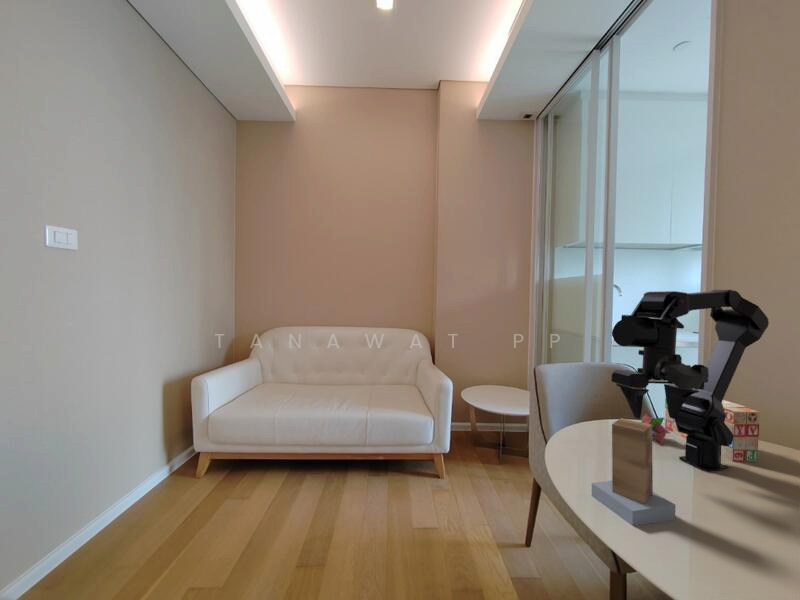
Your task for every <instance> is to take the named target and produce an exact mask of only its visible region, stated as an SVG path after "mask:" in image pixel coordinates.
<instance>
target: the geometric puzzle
mask: <svg viewBox="0 0 800 600" xmlns="http://www.w3.org/2000/svg"><path fill="white" fill-rule="evenodd" d="M652 416H655V415H651V414H647V413H645V414H644V415H643V416H642V418H641V419H640V422H641V423H646V424H650V425H652V437H655V438H654V439H655V440H656V441H657V442H659V444H663V442H664V441H665V439H667V437H666V435H670V434H671V431H670V430H668V429H666V428H667V427H666V428H665V427H664V426H663V425H662V424H663V422H664V421H665V419H666V418H665V417H656V418H654V417H652ZM664 423H665V422H664ZM665 424H667V423H665ZM665 424H664V425H665Z"/></svg>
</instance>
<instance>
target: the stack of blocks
mask: <svg viewBox="0 0 800 600" xmlns="http://www.w3.org/2000/svg"><path fill="white" fill-rule="evenodd" d="M664 401H665V402H664V408H665V411H664V412H665V416H664V418H665V419H664V423H667V424H664V425H665V427H664V428H665V429H666V430H668V431H669V432H672V433H674V434H676V435H678V436H680V437H683V438H684V439H686V436H688V435H687V434H684V433H682V432H678V430H677V426H676V422H675V419H672V418H670V417H669V413H668V408H667V401H666V397H665V400H664ZM722 405H723V408H724V411H725V414H726V418H725V421H724V423H725V424H726V426H727V427H728V428H729V429H730V431H731V432H732V433H733V434H734V437H733V441H732V444H729V446H722V445H721V457H723V458H725V459H727V460H729V461H731V462H738V463H740V462H741V463H742V462H747V463H748V462H750V463H751V462H752V463H753V462H755V463H757V462H759V461H758V459H759V437H760V416H761V415H760V414H761V413H760V411H758V410H755V409H752V408H749V407H747V406H745V405H742V404H738V403H735V402H730V401H728V400H725V399H723V400H722ZM666 427H667V428H666Z"/></svg>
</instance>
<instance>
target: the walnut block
mask: <svg viewBox="0 0 800 600" xmlns="http://www.w3.org/2000/svg"><path fill="white" fill-rule="evenodd" d="M611 441H612V443H611V450H612V451H611V455H612V457H611V458H612V459H611V460H612V461H611V464H612V465H611V466H612V467H611V470H612V471H611V472H612V473H611V474H612V475H611V477H612V478H611V481H612V492H613V493H616V494H619V495H621V496H624V497H627V498H630V499H632V500H635V501H638V502H641V503H643V504H645V503H646V502H647V500H648V499H649V498H650V496H651V495H652V494H653V492H654V491H653V490H654V488H653V486H654V485H653V481H654V480H653V478H654V477H653V475H654V472H653V470H654V469H653V467H654V466H653V438H652V425H650V424H646V423H641V421H636V420H631V419H626V418H622V417H621V418H619V419H617V420H616V421H615V422H613V423H611Z"/></svg>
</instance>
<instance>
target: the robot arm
mask: <svg viewBox="0 0 800 600" xmlns="http://www.w3.org/2000/svg"><path fill="white" fill-rule="evenodd" d="M723 308H726V309H723ZM727 308H728V309H727ZM729 308H731V309H729ZM705 309H706V310H707V309H710V313H709V314H710V317H711V319H712V320H713V321H714V322H715V325H714V330H715V333H716V336H717V338H718V339H717V341H716V344H715V346H714V349H713V351H712V353H711V355H710V357H709V360H708V361H707V364H706V366H705V365H703V364H693V365H690V364H685V363H683V361H682V360H683V359H682V355H681V354H678V353H676V351H677V350H676V349H677V345H676V344H677V334H678V333H677V332H678V329H681V330H682V329H685V325H684V324H683V323H682V322H681V321H680V320H678V318H680V317H683V316H686V315H688V314H689V312H691V311H697V310H705ZM768 327H769V317H768V316H767V315H766V313H764V311H763V310H762V309H761V307H759V306H758V304H755V303H754V302H751V301H749V300H748V299H746V298H744V297H742V295H741V294H740V293H739V292H738V291H736V290H733V289H714V290H713V289H712V290H710V291H709V290H708V291H700V292H699V291H698V292H683V291H675V290H674V291H673V290H672V291H671V290H670V291H646V292H645V293H643V296H642V298H641V299H640V301H639V302H638V303H637V305H636V307H635V308H634V309H633V311H632V312H631V314H622V315H621V319H620V320H619V321H617V322H616V323H615V325H614V327H613V328H612V331H611V335H612V338H613V341H614V342H615V343H616V344H617V345H618V346H621V347H626V348H627V347H629V348H630V347H631V348H632V347H633V348H635V347H636V348H643V349H639V350H638V355H640V356H642V367H638V368H637V371H634V370H630V369H615V370H613V371H612V373H611V382H613V383H615V385H616V386H617V387H619V388H620V391H621V392H622V394H623V395H624V397H625V399H626V401H627V403H628V406H629V408H630V409H631V413H632V415H633V418H635V419H638V420H639V419H640V420H641V415H642V412H643V411H642V409H643V402H644V395H646V394H647V393H649V390H650V389H648V388H647V387H648V386H649V384H663V387H664V394H665V395H664V396H665V398H666V401H667V408H668V413H669V417H670V418H672V419H675V422H676V426H677V430H678V432H682V433H684V434H687V435H688V436H686V438H685V449H684V452H685V453H684V454H685V455H681V456H679V457H678V459H679V460H681V461H682V462H685V463H687V464H689V465H692V466H694V467H696V468H699V469H700V470H703V471H705V472H716V471H724V470H729V466H728V465H726V464H723V463H722V456H721V445H722V446H729V444H732V441H733V437H734V434H733V433H732V432H731V431H730V429H729V428H728V427H727V426H726V424H725V423H724V421H725V418H726V414H725V411H724V408H723V405H722V400H724V398H725V395H726V393H727V391H728V389H729V386H730V384H731V381H732V379H733V377H734V375H735V373H736V371H737V368H738V365H739V363H740V361H741V359H742V357H743V354H744V352H745V350H746V348H747V347H749V346H751V345H752V344H755V343H756V342H757V341H759V340H760V339H761V338H762V336H763V335H764V333H765V332H766V330H767V329H768Z"/></svg>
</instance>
